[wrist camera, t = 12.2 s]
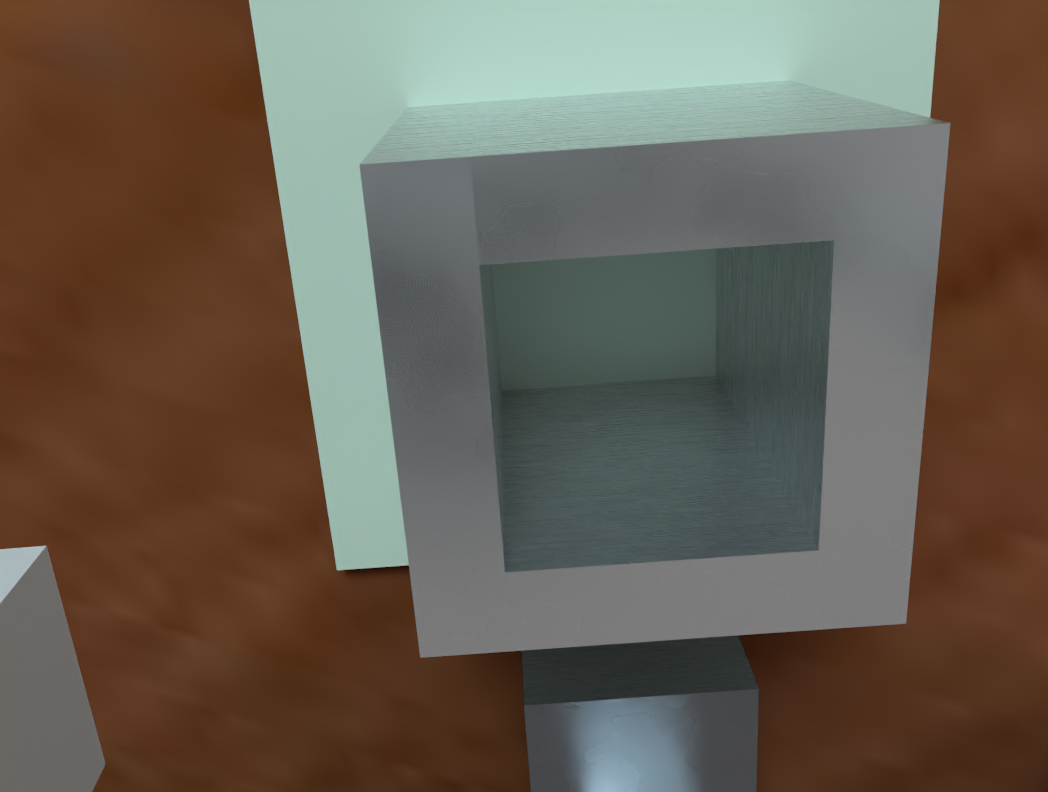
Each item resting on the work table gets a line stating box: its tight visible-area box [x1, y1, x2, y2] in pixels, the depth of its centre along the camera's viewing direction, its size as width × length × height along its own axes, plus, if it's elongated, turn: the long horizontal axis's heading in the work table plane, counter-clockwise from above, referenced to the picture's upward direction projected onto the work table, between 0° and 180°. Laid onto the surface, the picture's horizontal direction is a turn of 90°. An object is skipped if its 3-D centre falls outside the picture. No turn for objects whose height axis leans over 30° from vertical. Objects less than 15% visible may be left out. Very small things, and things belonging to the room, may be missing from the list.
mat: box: [249, 0, 940, 570], centre depth 23 cm, size 14×14×1 cm
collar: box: [359, 80, 950, 658], centre depth 19 cm, size 8×8×8 cm
